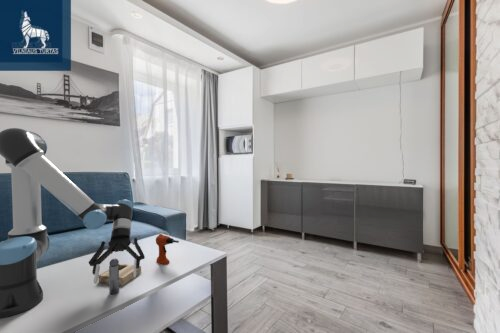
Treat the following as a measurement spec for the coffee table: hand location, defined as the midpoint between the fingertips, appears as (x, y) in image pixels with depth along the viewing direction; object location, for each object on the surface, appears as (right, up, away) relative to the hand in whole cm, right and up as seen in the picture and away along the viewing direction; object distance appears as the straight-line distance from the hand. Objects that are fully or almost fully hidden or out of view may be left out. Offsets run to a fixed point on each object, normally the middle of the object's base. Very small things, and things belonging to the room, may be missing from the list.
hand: (115, 279), depth 93 cm
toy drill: (+11, -6, +27) cm, 30 cm away
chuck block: (-6, -6, +14) cm, 16 cm away
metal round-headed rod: (-1, -6, +1) cm, 6 cm away
